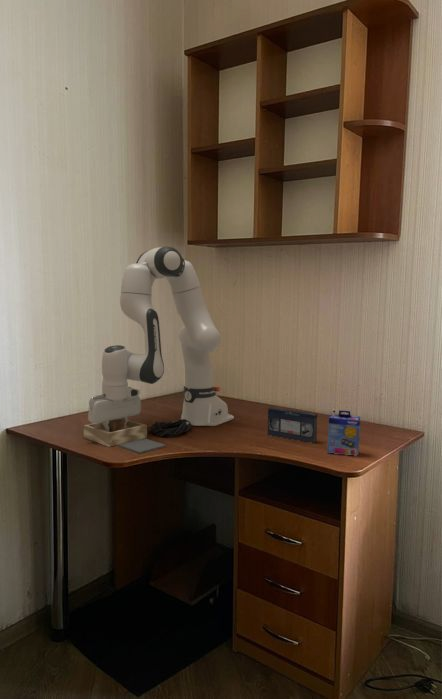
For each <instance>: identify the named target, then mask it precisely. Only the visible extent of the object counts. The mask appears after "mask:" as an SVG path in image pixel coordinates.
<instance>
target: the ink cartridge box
mask: <svg viewBox="0 0 442 699" xmlns="http://www.w3.org/2000/svg"><path fill="white" fill-rule="evenodd" d="M327 425H328V428H327V432H328V433H327V454H328V453H334V454H333V455H337V454H345V455H344V456H347V455H355V456H357V455H358V456H359V452H360V436H361V435H360V434H361V433H360V432H361V431H360V430H361V416H359V415H351V410H340V409H339V410H338V414H337V413H330V414H329V416H328V424H327ZM355 456H354V457H355ZM358 456H357V457H358Z"/></svg>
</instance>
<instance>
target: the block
mask: <svg viewBox="0 0 442 699" xmlns="http://www.w3.org/2000/svg"><path fill="white" fill-rule="evenodd" d="M108 426H109V427H110V428H112V430H111V431H112V432H114V431H118V430H123V429H125V425H124V421H122V420H119V419H115V420H110V421H109V424H108Z"/></svg>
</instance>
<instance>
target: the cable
mask: <svg viewBox="0 0 442 699" xmlns="http://www.w3.org/2000/svg"><path fill="white" fill-rule="evenodd" d="M186 422H189V421H187V420H186V419H181V418H180V419H178V420H174V421H168V422H167V421H161V422H158V421H155V423H152V426H151V427H150V430H149V431H150V432H152V433H153V434H154V435H156V436H158V437H166V438H172V437H175V436H178V435H179V434H181V433H184V432H186V433H187V432H188V431H190V429H192V426H193V425H191V423H190V422H189V424H187V423H186ZM164 428H165V429H164ZM166 428H167V429H166Z"/></svg>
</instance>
